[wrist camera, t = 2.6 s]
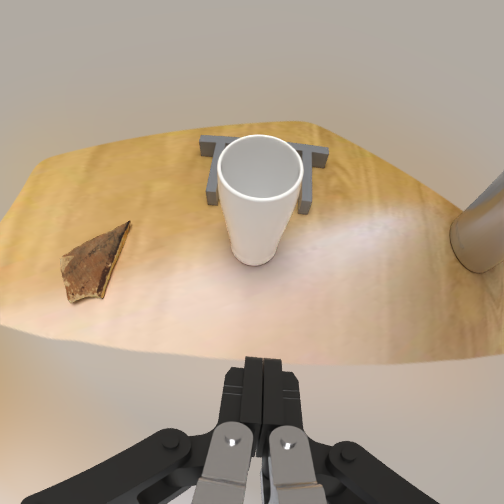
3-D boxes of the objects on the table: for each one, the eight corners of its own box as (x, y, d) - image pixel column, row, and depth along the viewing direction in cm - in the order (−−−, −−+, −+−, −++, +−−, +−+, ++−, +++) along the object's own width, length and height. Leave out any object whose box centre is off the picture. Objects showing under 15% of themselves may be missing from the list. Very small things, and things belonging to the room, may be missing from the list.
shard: (133, 225, 39) (129, 219, 37) (153, 277, 36) (149, 272, 34) (63, 260, 36) (56, 255, 35) (76, 313, 34) (70, 310, 32)
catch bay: (323, 161, 43) (328, 147, 40) (325, 216, 39) (331, 204, 36) (202, 149, 43) (200, 135, 40) (190, 203, 39) (186, 189, 37)
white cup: (218, 227, 38) (208, 141, 24) (273, 215, 39) (288, 127, 25) (232, 279, 36) (227, 210, 22) (290, 265, 37) (318, 191, 23)
